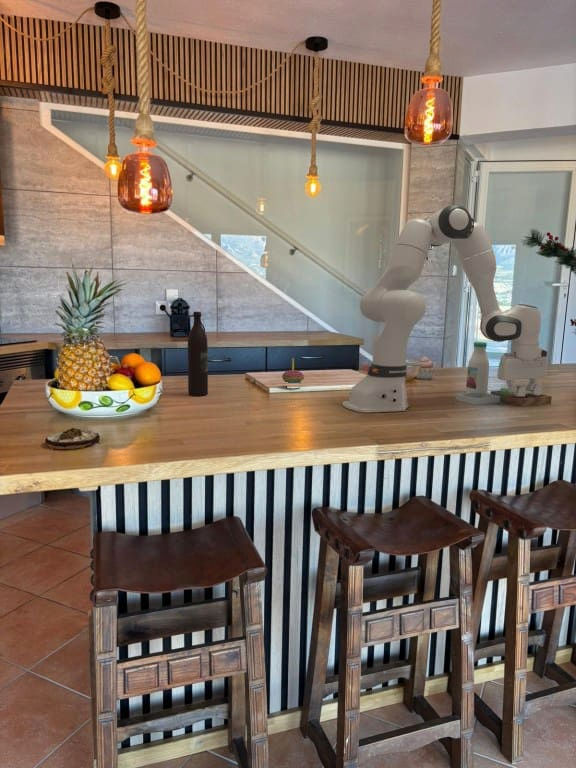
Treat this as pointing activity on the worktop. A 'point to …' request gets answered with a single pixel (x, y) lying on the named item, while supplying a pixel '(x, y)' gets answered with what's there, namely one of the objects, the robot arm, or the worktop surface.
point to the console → (499, 393)
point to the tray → (477, 398)
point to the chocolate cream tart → (72, 439)
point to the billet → (519, 391)
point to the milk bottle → (478, 369)
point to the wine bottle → (197, 359)
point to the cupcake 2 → (426, 369)
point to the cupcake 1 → (293, 375)
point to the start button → (504, 390)
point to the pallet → (526, 400)
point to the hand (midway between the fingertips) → (520, 391)
